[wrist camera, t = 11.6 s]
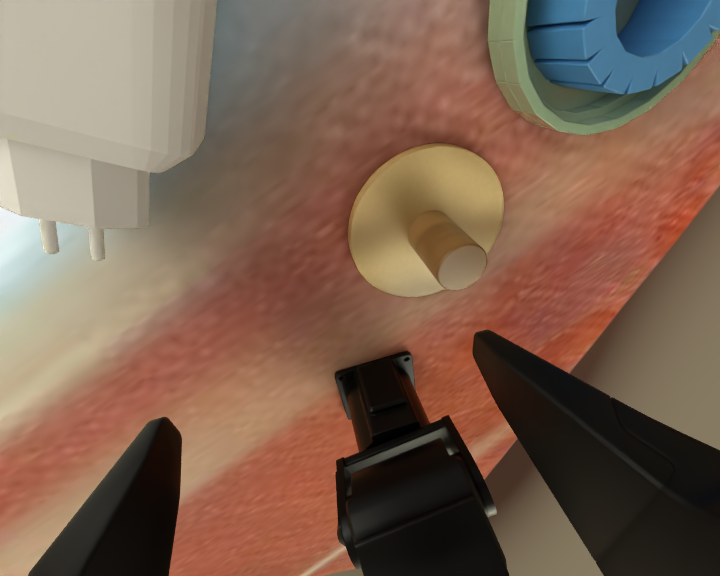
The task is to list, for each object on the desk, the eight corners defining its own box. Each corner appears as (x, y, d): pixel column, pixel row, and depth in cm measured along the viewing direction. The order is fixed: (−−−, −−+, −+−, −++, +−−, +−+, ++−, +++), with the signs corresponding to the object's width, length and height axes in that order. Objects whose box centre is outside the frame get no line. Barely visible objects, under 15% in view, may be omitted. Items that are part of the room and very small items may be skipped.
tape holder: (490, 270, 25) (536, 314, 21) (361, 306, 24) (381, 359, 20) (505, 125, 19) (572, 146, 15) (332, 165, 18) (352, 199, 14)
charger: (-24, 211, 16) (-166, -353, 8) (195, 249, 19) (232, -129, 12) (-117, 263, 12) (-532, -696, 4) (178, 299, 15) (217, -214, 8)
